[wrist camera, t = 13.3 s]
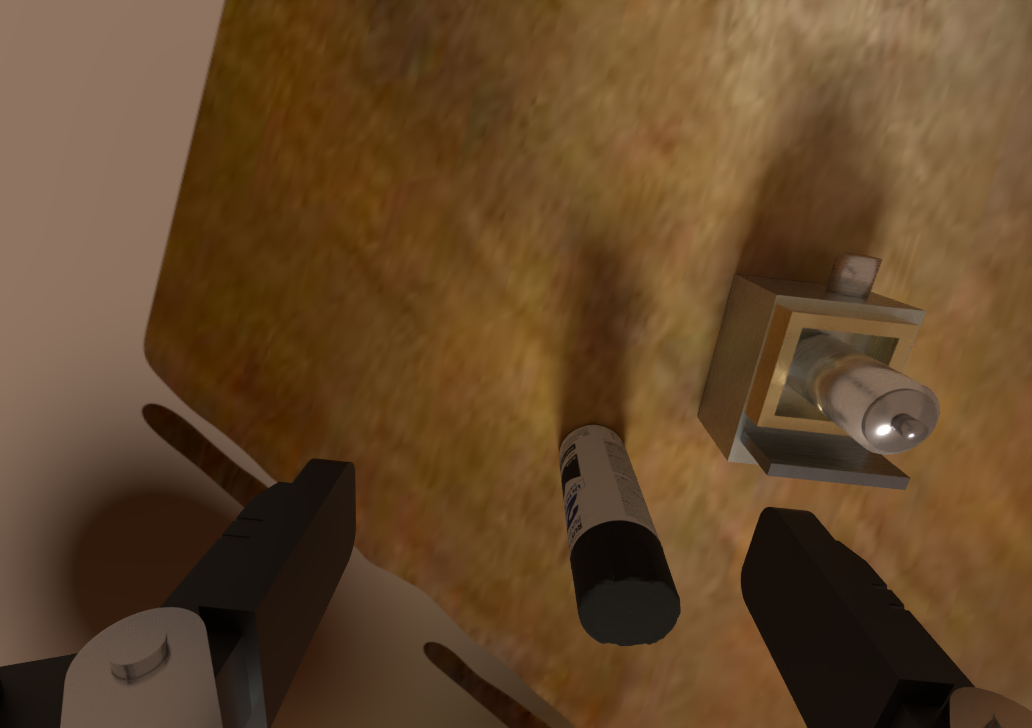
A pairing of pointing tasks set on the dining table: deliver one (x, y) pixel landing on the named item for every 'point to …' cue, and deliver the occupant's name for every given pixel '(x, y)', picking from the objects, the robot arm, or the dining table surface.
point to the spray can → (613, 543)
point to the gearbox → (767, 358)
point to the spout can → (863, 395)
